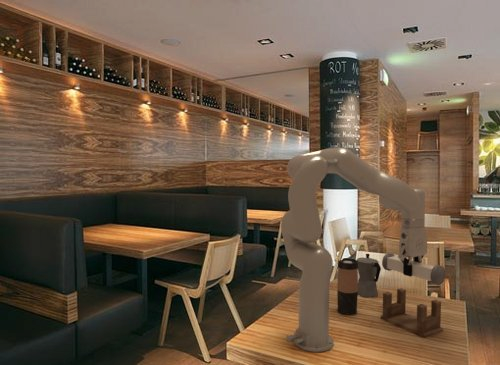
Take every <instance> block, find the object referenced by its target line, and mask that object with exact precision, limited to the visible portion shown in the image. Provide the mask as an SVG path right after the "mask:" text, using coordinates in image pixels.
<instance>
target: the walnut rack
mask: <svg viewBox="0 0 500 365" xmlns="http://www.w3.org/2000/svg"><path fill="white" fill-rule="evenodd" d="M406 295H407V290H406V289H404V288H401V287H400V288H397V289H396V302H394V303H393V302H392V301H393V300H392V299H393V293H392V292H390V291H386V292H382V314H381V315H380V319H381V320H383V321H385V322H387V323H390V324H392V325H394V326H397V327H399V328H402V329H404V330H406V331H408V332H411V333H412V334H415V335H417V336H420V337H422V338H424V339H426V338H428V337H431V336H433V335H436V334H439V333H441V332H443V331H444V328H443V327H441V319H442V316H441V315H442V313H441V312H442V300H441V301H440V300H438V299H432V300H431V304H430V305H431V306H430V307H431V308H430V309H431V312H430V315H428V306H427V305H426V304H423V303H419V304H417V305H416V316H412V315H410V314H407V313H406V302H407V300H406V299H407V296H406Z"/></svg>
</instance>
